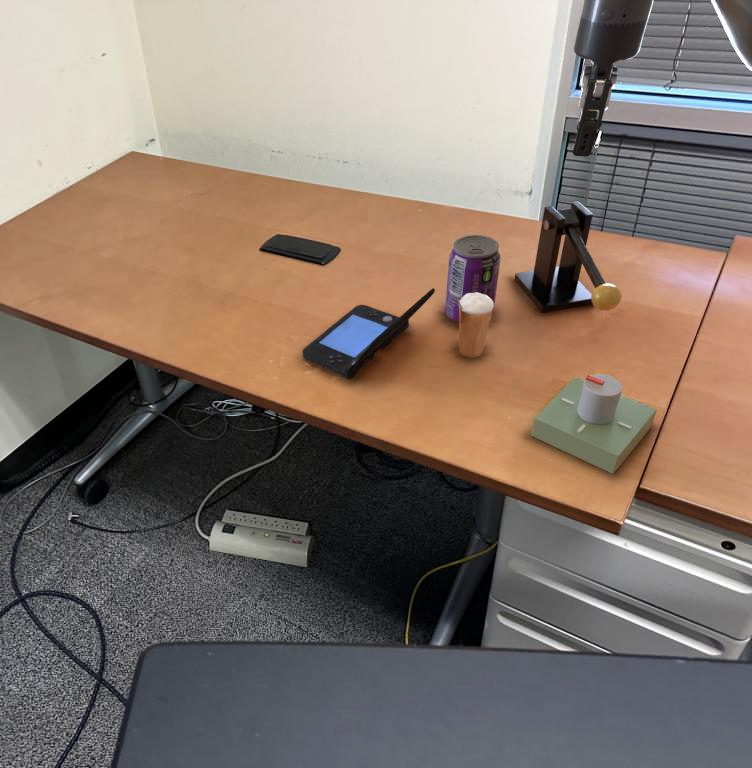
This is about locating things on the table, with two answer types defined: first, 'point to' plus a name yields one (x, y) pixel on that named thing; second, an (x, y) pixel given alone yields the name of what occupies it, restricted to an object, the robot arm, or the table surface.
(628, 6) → the robot arm
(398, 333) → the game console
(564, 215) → the latch lever
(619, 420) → the green dial knob panel
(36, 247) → the table surface
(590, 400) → the lock knob
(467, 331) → the milkshake
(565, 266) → the latch bracket
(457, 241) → the beverage can
